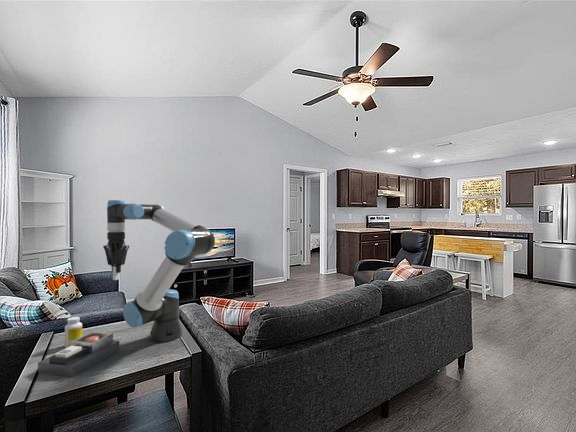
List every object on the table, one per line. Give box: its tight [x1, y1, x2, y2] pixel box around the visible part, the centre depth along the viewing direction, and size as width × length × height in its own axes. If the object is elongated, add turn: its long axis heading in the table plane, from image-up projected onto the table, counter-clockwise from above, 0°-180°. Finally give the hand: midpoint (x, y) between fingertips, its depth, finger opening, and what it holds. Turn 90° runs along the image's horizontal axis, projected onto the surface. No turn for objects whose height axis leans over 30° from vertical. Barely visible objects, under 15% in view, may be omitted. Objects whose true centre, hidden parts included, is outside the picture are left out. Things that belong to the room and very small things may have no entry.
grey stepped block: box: [37, 331, 120, 378], centre depth 122 cm, size 16×23×8 cm
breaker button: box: [85, 336, 99, 343], centre depth 127 cm, size 5×5×3 cm
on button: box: [54, 346, 82, 358], centre depth 116 cm, size 5×7×3 cm
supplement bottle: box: [64, 316, 83, 349], centre depth 135 cm, size 7×7×13 cm
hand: (116, 279), depth 143 cm, fingers closed
